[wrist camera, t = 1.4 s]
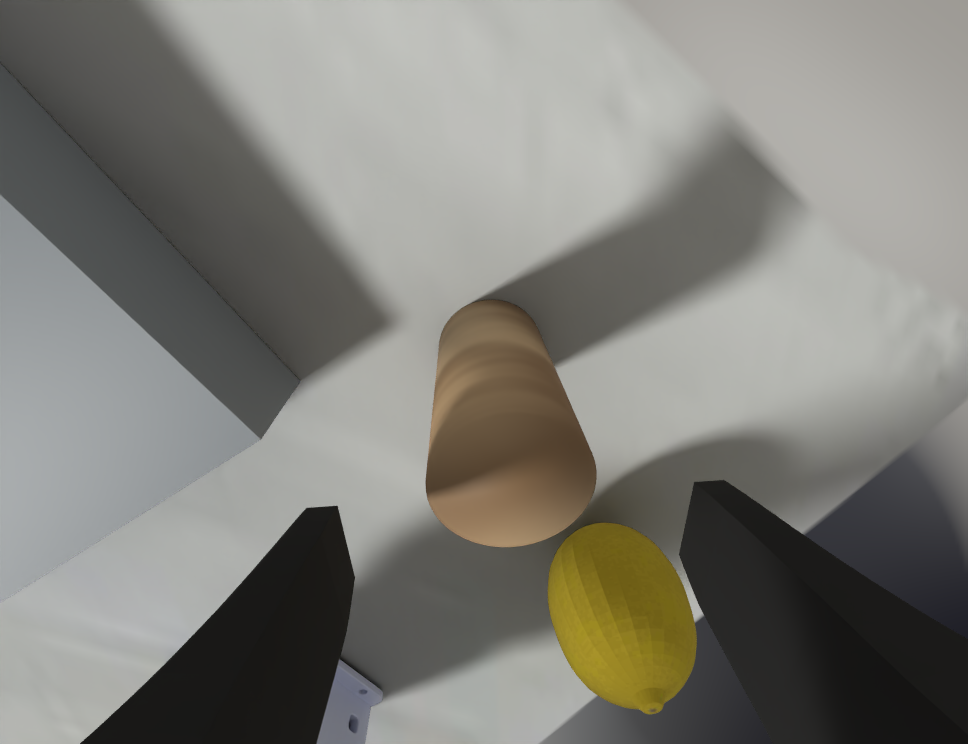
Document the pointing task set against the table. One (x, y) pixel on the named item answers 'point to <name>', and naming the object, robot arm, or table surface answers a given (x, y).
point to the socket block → (104, 355)
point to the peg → (503, 433)
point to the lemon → (622, 616)
